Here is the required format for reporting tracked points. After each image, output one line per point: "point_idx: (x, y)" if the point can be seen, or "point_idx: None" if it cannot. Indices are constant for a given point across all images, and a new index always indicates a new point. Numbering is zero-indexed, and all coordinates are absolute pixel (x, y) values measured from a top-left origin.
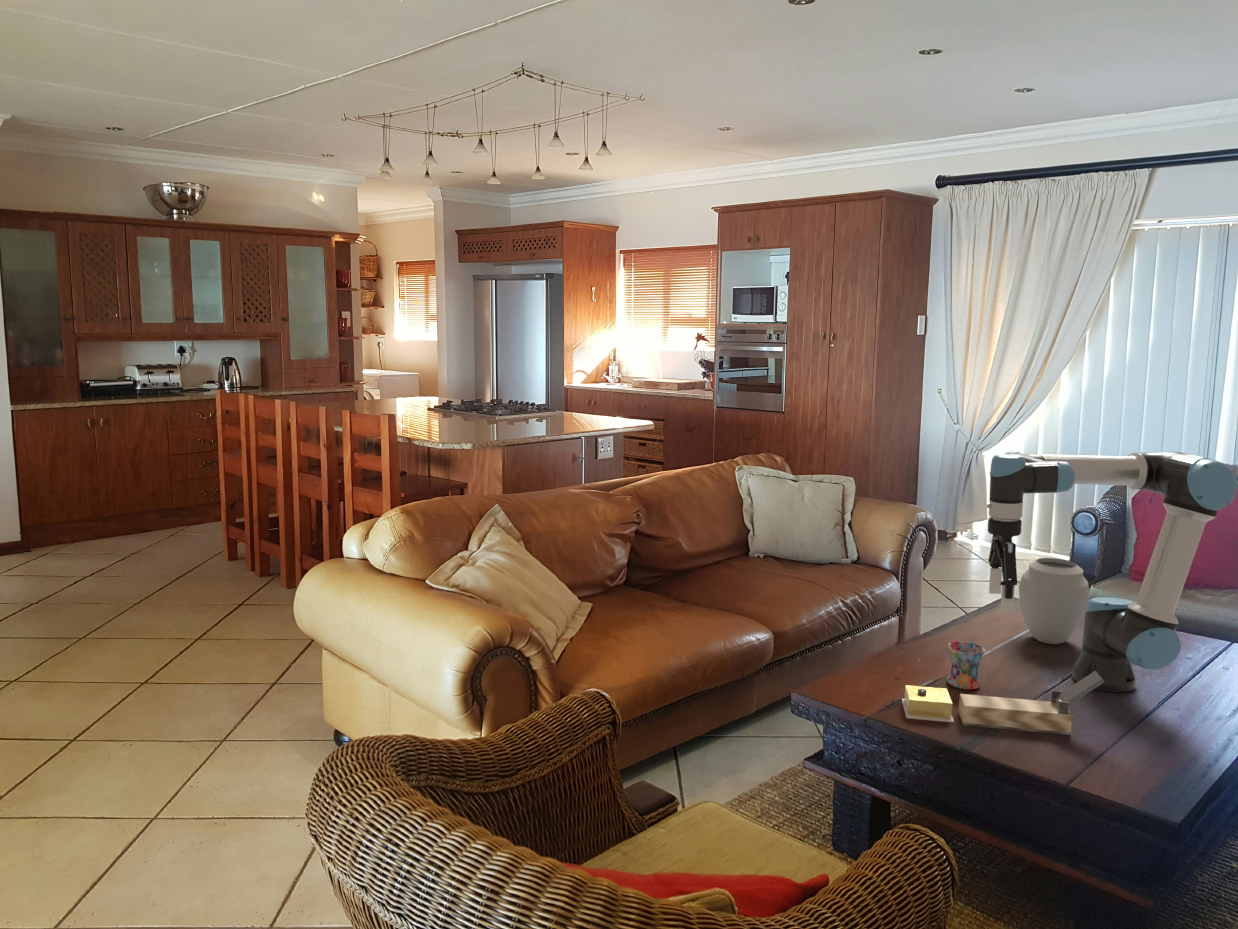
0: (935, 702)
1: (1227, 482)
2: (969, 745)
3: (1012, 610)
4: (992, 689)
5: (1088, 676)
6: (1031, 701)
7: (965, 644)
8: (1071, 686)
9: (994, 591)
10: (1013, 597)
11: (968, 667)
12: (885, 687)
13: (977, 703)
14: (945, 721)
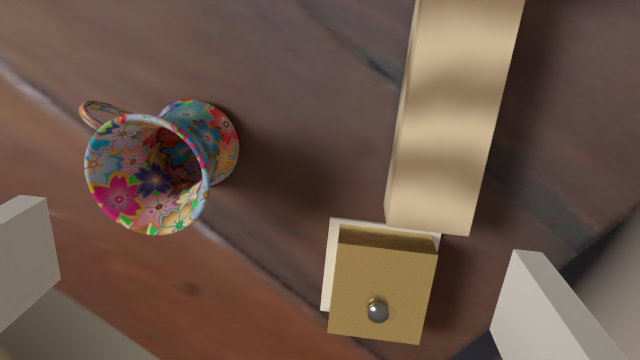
0: (429, 291)
1: None
2: (565, 228)
3: (542, 261)
4: (209, 66)
5: None
6: (431, 25)
7: (96, 163)
8: None
9: (41, 257)
10: (618, 354)
11: (211, 162)
12: (253, 324)
13: (453, 199)
14: (437, 247)
